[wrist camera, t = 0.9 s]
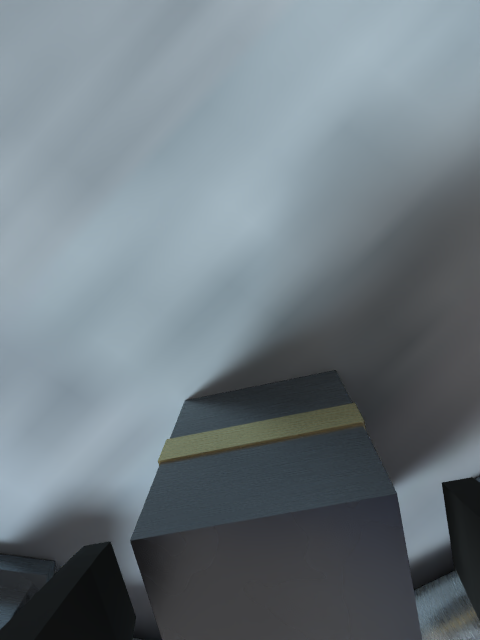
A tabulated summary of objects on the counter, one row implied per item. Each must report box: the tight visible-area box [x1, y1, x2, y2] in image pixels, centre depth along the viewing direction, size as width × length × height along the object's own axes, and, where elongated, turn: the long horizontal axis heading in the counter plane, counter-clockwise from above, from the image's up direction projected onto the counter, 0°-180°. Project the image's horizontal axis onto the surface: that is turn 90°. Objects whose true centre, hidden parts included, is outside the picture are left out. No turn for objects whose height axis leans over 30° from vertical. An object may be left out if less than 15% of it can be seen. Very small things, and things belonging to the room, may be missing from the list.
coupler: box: [130, 370, 422, 640], centre depth 11 cm, size 5×5×6 cm
